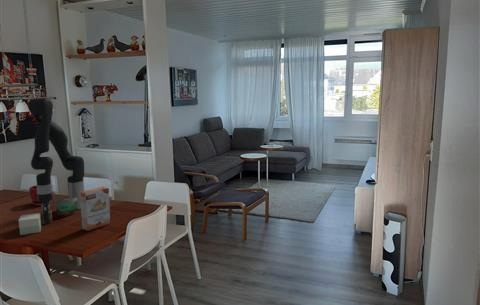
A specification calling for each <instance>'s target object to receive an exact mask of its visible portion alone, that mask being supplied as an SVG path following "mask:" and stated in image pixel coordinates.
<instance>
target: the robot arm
mask: <svg viewBox="0 0 480 305" xmlns="http://www.w3.org/2000/svg"><path fill="white" fill-rule="evenodd" d="M27 108H28V110H29V112H30V113H31V115H32V116H33V118H34V119H35V121H36V122H37V123H38V124H39V126H38V128H37V131H36V132H35V135H34V150H33V156H32V158H31V160H30V161H31V162H30V166H31V169H33V170H35V171H37V170H38V171H40V170H44V172H41V173H38V174H37V175H36V177H35V179H36V185H37V198H38V201H39V202H43V203H42V205H41V212H43V217H44V222H45V223H47V224H50V223H49V210H51V203H50V202H49V201H51V200H52V201H53V199H54V197H53V185H52V179H51V175H52V170H53V165H54V160H53V158H52V157H50V156H41V155H42V154H44V153H48V152H49V151H50V143H51V145H52V146H53V149H54V150H55V151H56V153H57V156H58V157H59V159H60V162H61V164H62V166H63V167H64V169H65V170H66V171H71V172H72V175H69V176H68V177H67V180H66V181H67V190H68V199H73V198H75V197H76V198H77V201H76V206H75V210H81V199H80V192H82V191H85V182H84V177H85V161H84V158H83V157H82V156H80V155H79V156H78V155H72V154H71V153H70V151H69V149H68V143H69V139H68V136H67V135H66V133H65V131H64V129H63V128H62V127H61V126H60V125H58V124H57V123H55V121H53V120H52V119H53V118H52V117H53V112H54V110H53V109H54V105H53V102H52V100H51V99H50V98H48V97H40V98H39V97H38V98H31V99H29V100H28V102H27ZM51 185H52V186H51ZM45 213H47V214H45Z"/></svg>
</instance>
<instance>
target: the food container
mask: <svg viewBox="0 0 480 305" xmlns="http://www.w3.org/2000/svg"><path fill="white" fill-rule="evenodd" d="M76 201H77V198H76V197H75V198H73V199H69V198H63V199H58V200H57V199H54V201H53V202H54V205H55V206H56V211H57V215H58V216H59V217H64V218H65V217H71V216H74V215H75V214H76V209H75V206H76Z"/></svg>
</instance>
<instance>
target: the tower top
mask: <svg viewBox="0 0 480 305" xmlns="http://www.w3.org/2000/svg"><path fill="white" fill-rule="evenodd" d="M40 221H41V222H42V219H41V213H40V212H37V213H30V214H29V213H28V214H21V215H20V216H19V218H18V228H19V229H20V228H23V227H31V226H39V224H40Z"/></svg>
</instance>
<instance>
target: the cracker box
mask: <svg viewBox="0 0 480 305" xmlns="http://www.w3.org/2000/svg"><path fill="white" fill-rule="evenodd" d="M109 188H110V187H106V186H100V187H96V188H95V187H94V188H91V189H87V190H84V191H82V192H80V199H81V209H80V213H81V214H80V216H81V229H82V230H84V231H87V232H89V231H92V230H95V229H98V228H101V227H104V226H108V225H110V224H111V210H110V207H111V206H110V189H109Z"/></svg>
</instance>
